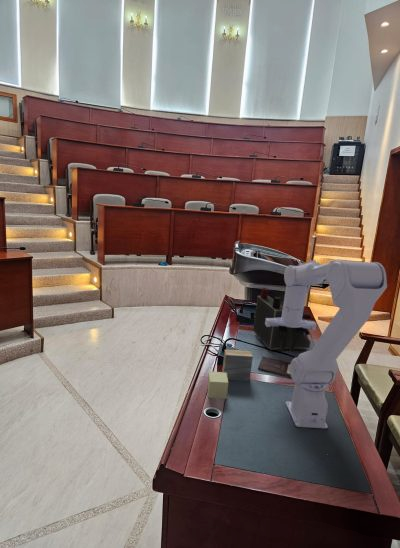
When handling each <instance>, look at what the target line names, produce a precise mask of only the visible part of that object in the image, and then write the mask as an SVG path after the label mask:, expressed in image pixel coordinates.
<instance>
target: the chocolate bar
mask: <svg viewBox="0 0 400 548" xmlns="http://www.w3.org/2000/svg"><path fill="white" fill-rule="evenodd" d="M290 364H291V362H289V361H285V360H281V359H276V358H272V357H268V356H262V357H261V360H260V362H259V365H258V366H257V367H258V368H257V370H258V371H263V372H265V373H270V374H274V375H278V376H282V377H287V378H291V379H292V377H291V374H290Z"/></svg>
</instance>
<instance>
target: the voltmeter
mask: <svg viewBox="0 0 400 548" xmlns="http://www.w3.org/2000/svg"><path fill="white" fill-rule="evenodd" d="M256 298H257V299H256V304H255V305H256V307H255V314H254V321H253V329H252V331H253V332H254V333H255V334H256V336H257V338H259V339H260V340H261V342H263V344H264V346H266V347H267V348H268V350H269V349H271V350H281V348H280V338H279V333H278V330H277V327H276V326H270V327H266V325H265V320H266V318H280V317H282V311H283V304H284V301H282V300H281V299H282V297H280V296H274V297H273V298H272V297H271V296H269V288H267V287H263V288H261V293H260V295H257V297H256ZM287 331H288V336H287V339H286V345H285V350H287V349H288V346H289V340H290V333H291V327H287ZM303 331H304V334H303V336H302V337H301V338H300V339H299V340H298V342H297V343H296V345H295V347H294V349H298V350H299V351H304V350H305V349H310V348H311V345H312V344H311V343H312V342H311V340H310V338H309V337H308V336H309V335H310V334H311V333H310V331H309V330H308V329H305V328H303ZM294 349H293V350H294ZM271 350H270V351H271ZM288 350H289V349H288Z"/></svg>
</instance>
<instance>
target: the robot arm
mask: <svg viewBox="0 0 400 548" xmlns="http://www.w3.org/2000/svg"><path fill="white" fill-rule="evenodd" d="M283 275H284V276H283V280H284V283H285V285H286V287H285V291H284V299H283V302H284V304H283V311H282V317H280V318H266V320H265V325H266V327H270V326H276V327H277V330H278V333H279V338H280V348H281V349H280V350H281V351H282V352H285V350H286V349H285V345H286V339H287V336H288V331H287V327H291V333H290V340H289V346H288V350H289V352H291V353H292V352H294V347H295V345H296V343H297V342H298V340H299V339H300V338H301V337H302V336H303V334H304V331H303V328H305V329H309V330H312V331H316V329H317V323H316V321H312V320H306V319H303V313H304V310H305V303H306V298H307V294H308V293H309V292H310V288H311V286H314V285H320V284H322V283H323V282H324V281H325V280H327V281H328V286H329V290H330V295H331V298H332V303H333V305H335V306H336V307H337V308H338V310H337V312H336V313H335V315H334V316H333V317H332V319H331V320H330V322H329V323H328V326H326V328H325V330H324V331H323V332H322V334H321V335H320V337H319V338H318V339H317V341H316V342H315V344H314V346H312V348H311V349H310V350H307V351H303V352H301V353H299V354H298V356H297V357H294V358H292V359H291V361H290V363H291V364H290V374H291V377H292V378H291V380H292V381H293V382H294V387H293V393H292V398H291V401H285V405H286V407H287V410H288V411H289V414H290V416H291V418H292V421H293V422H294V425H295V427H298V428H310V429H311V428H314V429H328V427H329V426H328V424H327V423H326V420H327V419H326V418H327V414H328V409H329V404H328V401H327V399H326V395H325V391H326V390H325V389H327V388H329V384H333V382H334V381H335V379H336V375H337V372H338V371H339V369H340V368H339V363H338V361H337V359H338V358H339V356H340V355H341V354H342V353H343V352H344V350H345V349H346V348H347V346H349V344H350V343H351V341H352V340H353V339H354V338H355V337H356V335H357V334H358V332H360V330H361V329H362V328H363V326H364V325H366V323H367V321H368V320H369V318H370V317H371V314H372V312H373V310H374V307H375V305H376V303H377V301H378V299H380V297H381V296H382V295H383V293H384V292H385V290H386V289H387V288H388V283H387V273H386V268H385V267H384V265H382V263H380V262H377V261H371V262H370V261H369V262H366V261H365V262H364V261H348V260H341V259H336V260H332V259H331V260H330V261H328V262H326V263H320V262H318V261H317V260H308V263H302V262H301V263H299V265H291V264H289V265H287V267H286V268H285V269H284V274H283Z"/></svg>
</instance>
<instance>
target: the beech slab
mask: <svg viewBox="0 0 400 548" xmlns="http://www.w3.org/2000/svg"><path fill="white" fill-rule="evenodd" d="M223 352H224V353H223V354H224V355H223V361H222V362H223V363H222V372H223V373H227V378H228V381H229V380H230V381H231V380H232V381H246V382H249V381H250V380H251V375H252V374H251V372H252V366H253V360H254V359H253V358H254V355H253V354H252V351H250V350H238V349H237V350H236V349H224V351H223Z"/></svg>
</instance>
